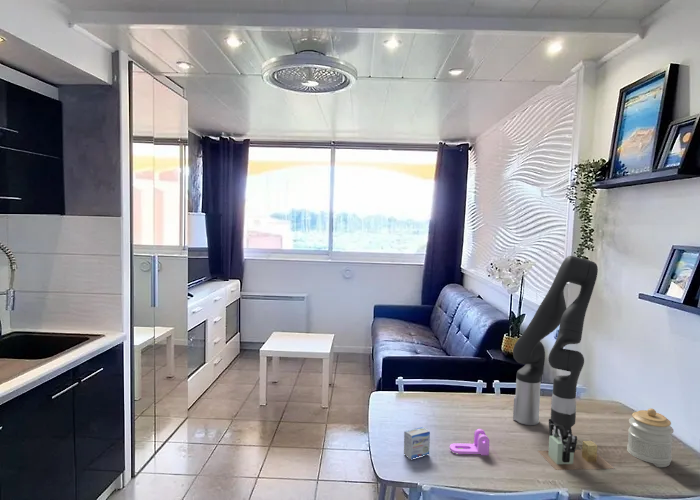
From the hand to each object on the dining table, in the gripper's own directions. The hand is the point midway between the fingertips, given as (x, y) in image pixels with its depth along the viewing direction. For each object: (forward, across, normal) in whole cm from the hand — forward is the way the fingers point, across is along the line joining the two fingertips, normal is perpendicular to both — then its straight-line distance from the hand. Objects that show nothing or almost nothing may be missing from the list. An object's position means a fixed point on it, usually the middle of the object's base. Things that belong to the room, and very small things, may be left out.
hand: (560, 456), depth 154 cm
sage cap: (+1, 0, 0) cm, 1 cm away
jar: (+3, -2, +33) cm, 33 cm away
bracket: (+3, -10, -28) cm, 30 cm away
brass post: (+1, 0, +10) cm, 10 cm away
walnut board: (+3, 0, +5) cm, 6 cm away
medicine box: (+3, -8, -48) cm, 48 cm away
